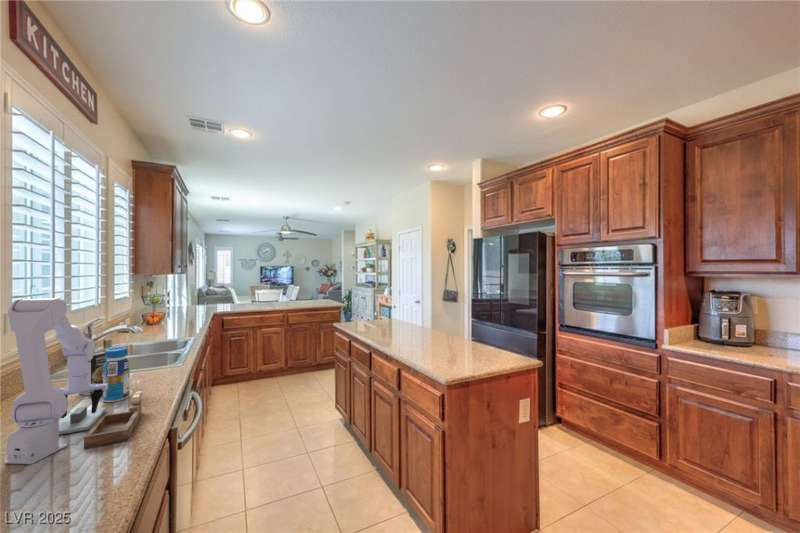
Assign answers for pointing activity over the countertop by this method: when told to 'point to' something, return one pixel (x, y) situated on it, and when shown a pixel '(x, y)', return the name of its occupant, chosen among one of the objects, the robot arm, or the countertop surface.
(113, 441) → the brown angular frame
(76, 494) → the countertop surface
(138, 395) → the block
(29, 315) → the robot arm
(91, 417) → the lid
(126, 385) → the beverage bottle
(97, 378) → the coffee box
